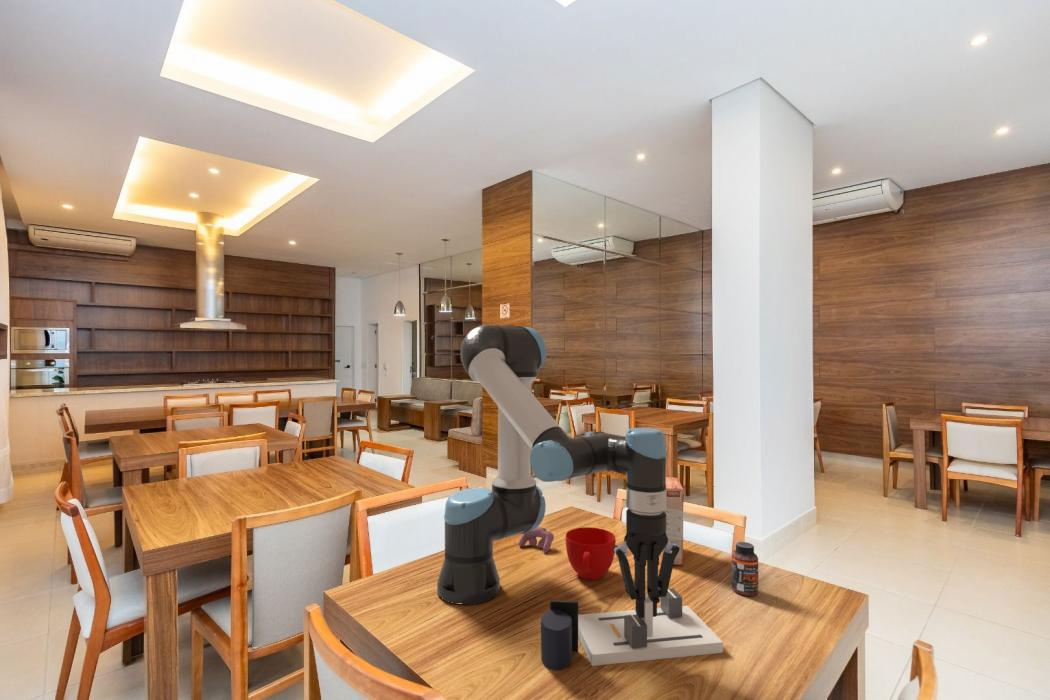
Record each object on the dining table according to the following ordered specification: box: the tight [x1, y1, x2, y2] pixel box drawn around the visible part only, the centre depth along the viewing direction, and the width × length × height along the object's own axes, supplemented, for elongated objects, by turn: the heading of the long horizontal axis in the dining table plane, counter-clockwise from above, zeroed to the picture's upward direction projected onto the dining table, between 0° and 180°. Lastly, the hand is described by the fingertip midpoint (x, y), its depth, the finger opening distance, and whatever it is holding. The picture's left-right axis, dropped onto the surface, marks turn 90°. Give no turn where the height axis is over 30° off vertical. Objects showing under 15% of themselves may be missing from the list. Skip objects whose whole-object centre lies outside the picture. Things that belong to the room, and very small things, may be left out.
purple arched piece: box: [518, 526, 555, 554], centre depth 146 cm, size 10×5×7 cm, turn 59°
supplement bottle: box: [730, 541, 759, 597], centre depth 118 cm, size 6×6×11 cm
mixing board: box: [578, 605, 724, 667], centre depth 98 cm, size 26×14×2 cm, turn 99°
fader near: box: [624, 614, 647, 648], centre depth 93 cm, size 3×4×4 cm
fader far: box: [660, 588, 683, 618], centre depth 104 cm, size 3×4×4 cm
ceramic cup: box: [565, 526, 616, 581], centre depth 126 cm, size 13×17×10 cm
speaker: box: [540, 600, 579, 671], centre depth 91 cm, size 8×6×10 cm
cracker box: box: [660, 476, 685, 566], centre depth 140 cm, size 14×6×21 cm, turn 168°
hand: (646, 633), depth 94 cm, fingers closed
